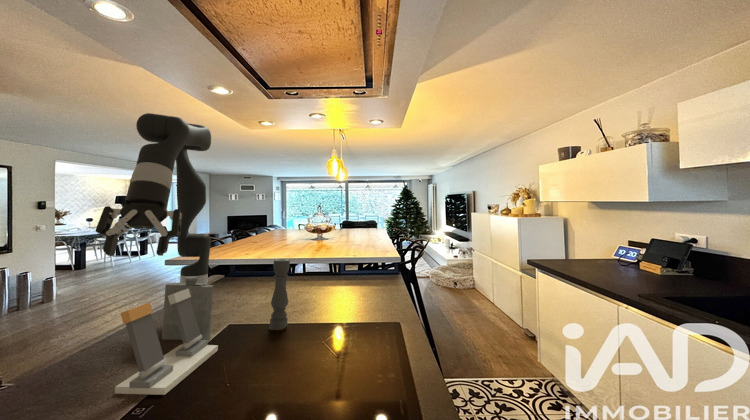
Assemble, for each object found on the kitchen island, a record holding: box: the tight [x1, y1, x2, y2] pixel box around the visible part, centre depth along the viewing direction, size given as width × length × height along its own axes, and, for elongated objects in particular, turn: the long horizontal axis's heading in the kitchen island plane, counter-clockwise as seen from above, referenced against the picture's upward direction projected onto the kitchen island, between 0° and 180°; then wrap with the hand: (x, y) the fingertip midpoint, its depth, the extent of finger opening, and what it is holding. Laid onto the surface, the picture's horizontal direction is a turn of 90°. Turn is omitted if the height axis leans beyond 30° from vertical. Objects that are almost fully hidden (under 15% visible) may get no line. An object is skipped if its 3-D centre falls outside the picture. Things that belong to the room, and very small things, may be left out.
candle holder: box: [269, 258, 291, 330], centre depth 105 cm, size 6×6×25 cm
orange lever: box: [120, 302, 166, 379], centre depth 67 cm, size 2×6×16 cm, turn 2°
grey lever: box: [168, 289, 202, 349], centre depth 82 cm, size 2×6×16 cm, turn 2°
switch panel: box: [114, 340, 219, 396], centre depth 74 cm, size 11×23×3 cm, turn 1°
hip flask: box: [161, 276, 214, 342], centre depth 93 cm, size 16×4×20 cm, turn 85°
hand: (135, 255), depth 60 cm, fingers open, 8 cm apart
